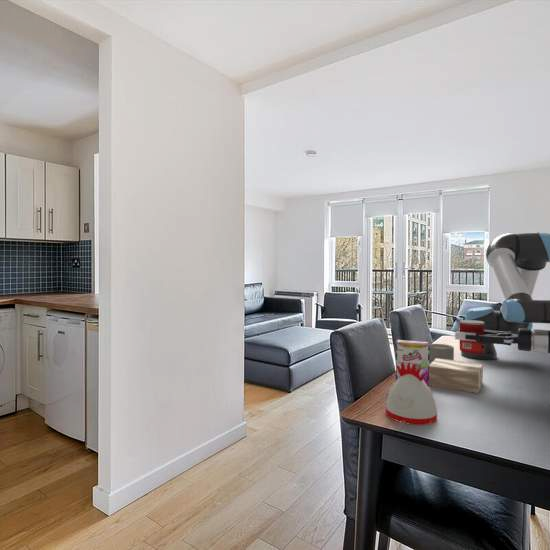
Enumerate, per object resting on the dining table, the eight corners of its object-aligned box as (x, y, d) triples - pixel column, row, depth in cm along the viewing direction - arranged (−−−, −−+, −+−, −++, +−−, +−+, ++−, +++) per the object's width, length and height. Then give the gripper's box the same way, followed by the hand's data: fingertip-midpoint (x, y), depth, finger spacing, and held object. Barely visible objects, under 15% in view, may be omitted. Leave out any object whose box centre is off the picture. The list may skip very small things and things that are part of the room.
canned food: (487, 354, 131) (488, 323, 131) (463, 353, 132) (463, 322, 132) (479, 349, 138) (480, 320, 138) (456, 348, 140) (457, 319, 139)
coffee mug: (454, 368, 156) (454, 345, 156) (453, 374, 148) (453, 349, 148) (420, 364, 163) (420, 342, 163) (417, 370, 154) (417, 346, 154)
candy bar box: (395, 388, 131) (395, 341, 131) (395, 384, 136) (395, 339, 135) (429, 391, 127) (430, 344, 127) (428, 387, 132) (429, 341, 132)
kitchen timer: (399, 402, 117) (399, 355, 117) (444, 414, 108) (444, 363, 108) (377, 415, 107) (377, 363, 107) (424, 429, 98) (425, 372, 98)
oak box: (436, 375, 146) (436, 358, 146) (482, 382, 137) (482, 364, 137) (428, 385, 135) (428, 365, 135) (478, 393, 126) (478, 372, 126)
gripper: (532, 357, 117) (452, 348, 129) (530, 346, 134) (460, 339, 146) (532, 333, 117) (453, 327, 129) (531, 325, 134) (460, 320, 146)
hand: (457, 333), depth 138 cm, fingers closed on canned food, 8 cm apart
